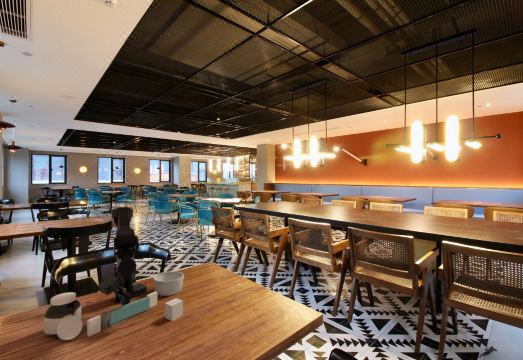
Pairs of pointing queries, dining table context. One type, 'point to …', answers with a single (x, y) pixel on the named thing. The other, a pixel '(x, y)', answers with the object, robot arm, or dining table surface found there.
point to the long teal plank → (128, 310)
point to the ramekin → (168, 283)
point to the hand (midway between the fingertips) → (124, 308)
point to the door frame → (99, 323)
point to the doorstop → (173, 309)
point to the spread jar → (63, 317)
